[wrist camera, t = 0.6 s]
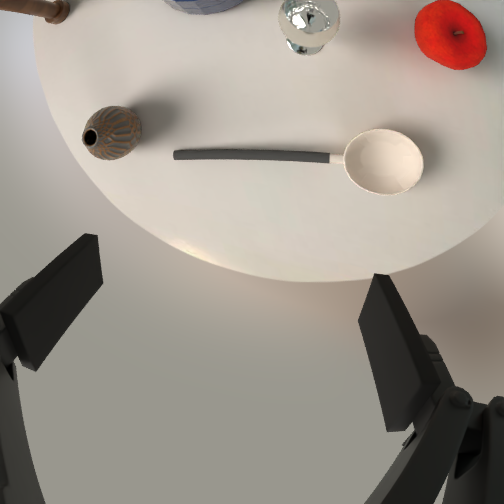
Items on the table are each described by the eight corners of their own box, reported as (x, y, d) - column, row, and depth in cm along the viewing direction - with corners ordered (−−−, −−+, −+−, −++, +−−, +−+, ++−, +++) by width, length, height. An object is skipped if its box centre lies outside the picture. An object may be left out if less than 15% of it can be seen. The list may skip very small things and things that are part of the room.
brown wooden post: (53, 4, 30) (-35, -14, 12) (72, -1, 30) (-18, -24, 12) (48, 26, 31) (-44, 15, 14) (66, 22, 31) (-28, 6, 14)
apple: (406, 70, 31) (432, 62, 24) (396, 8, 27) (418, -11, 20) (465, 76, 30) (496, 74, 23) (455, 17, 26) (484, 4, 19)
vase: (96, 126, 38) (58, 133, 30) (131, 95, 36) (96, 94, 28) (120, 164, 40) (86, 179, 32) (157, 135, 38) (126, 143, 30)
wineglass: (282, 61, 33) (279, 39, 22) (278, 19, 30) (273, -17, 20) (331, 60, 32) (348, 39, 21) (326, 18, 30) (340, -17, 19)
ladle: (413, 192, 37) (421, 202, 33) (189, 176, 44) (175, 184, 40) (420, 132, 33) (429, 135, 30) (186, 121, 40) (171, 124, 37)
